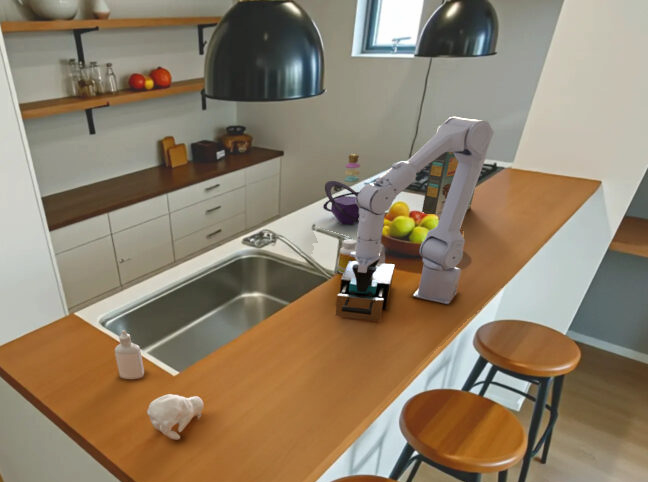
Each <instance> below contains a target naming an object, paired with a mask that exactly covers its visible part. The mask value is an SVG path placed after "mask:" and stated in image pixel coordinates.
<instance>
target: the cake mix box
mask: <svg viewBox="0 0 648 482" xmlns="http://www.w3.org/2000/svg"><path fill="white" fill-rule="evenodd" d="M457 166H458V160H457V158H456V157H455V155H454V153H453V152H445V153H443V154H442V155H440V156H439V157H438V158H436V159H435V160H433V161H432V162H431V163H430V164H429V170H428V176H427V181H426V187H425V192H424V197H423V204H422V209H421V213H422V212H424V213H425V214H435V215H437V216H438V217H440V216H441V213H442V210H443V207H444V204H445V201H446V198H447V195H448V192H449V190H450V187H451V184H452V181H453V178H454V175H455V172H456V169H457ZM475 189H476V188H475ZM475 189H474V192H473V195H472V197H471V200H470V203H469V205H471V206H472V203H473V199H474V194H475ZM471 206H468V208H467V210H470V209H471Z"/></svg>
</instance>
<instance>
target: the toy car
mask: <svg viewBox="0 0 648 482" xmlns="http://www.w3.org/2000/svg"><path fill="white" fill-rule="evenodd" d="M377 282H378V281H373V275H372V277H371V279H370V282H369V285H368V288H367V291H366V292H358V291H357V284H356V279H353V278H352V279H351V282H350V285H349V292H350V293H351V294H352V295H355V294H356V293H366V294H367V295H368V296H369V297H372V296H373V294H375V292H376V289H377Z"/></svg>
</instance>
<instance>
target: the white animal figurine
mask: <svg viewBox="0 0 648 482" xmlns="http://www.w3.org/2000/svg"><path fill="white" fill-rule="evenodd" d="M204 406H205V405H204V401H203V399H202V398H201V397H199V396H197V395H194V396H190V397H185V396H182V395H179V394H172V393H168V394H164V395H162V396H160V397H157V398H156V399H153V401H151V402H150V403H149V406H148V409H147V411H146V414H147V415H148V417H149V420H150V423H151V424H152V426H153V428H154V429H156V430H157V431H159V432H161V433H162V434H163V435H164V436H165V437H168V439H171V440H175V441H178V440H180V439H181V435H180V434H179V433H181V432H182V431H184V429H185V428H186V427H187V426H188V424H190V422H191V420H192V419H193V418H195V417H196V419H197V420H198V421H199V420H200V419H201V417H202V411H203V410H204ZM177 424H178V427H177V431H178V432H179V433H178V432H176V431H175V430H172V428H173V427H174V426H175V425H177Z"/></svg>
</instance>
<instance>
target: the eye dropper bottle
mask: <svg viewBox="0 0 648 482" xmlns="http://www.w3.org/2000/svg"><path fill="white" fill-rule="evenodd" d="M118 339H119V344H118V345H116V346H115V348H114V355H115V360H116V361H115V362H116V364H117V370H118V375H119V377H120V378H121V379H125V380H139V379H142V378H143V377H144V374H145V367H144V361H143V357H142V351H141V347H140V346H139V345H138V344H136V343H133V342H132V338H131V334H130V333H127V331H126V330H125V329H122V330H121V334H120V335H119V336H118Z"/></svg>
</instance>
